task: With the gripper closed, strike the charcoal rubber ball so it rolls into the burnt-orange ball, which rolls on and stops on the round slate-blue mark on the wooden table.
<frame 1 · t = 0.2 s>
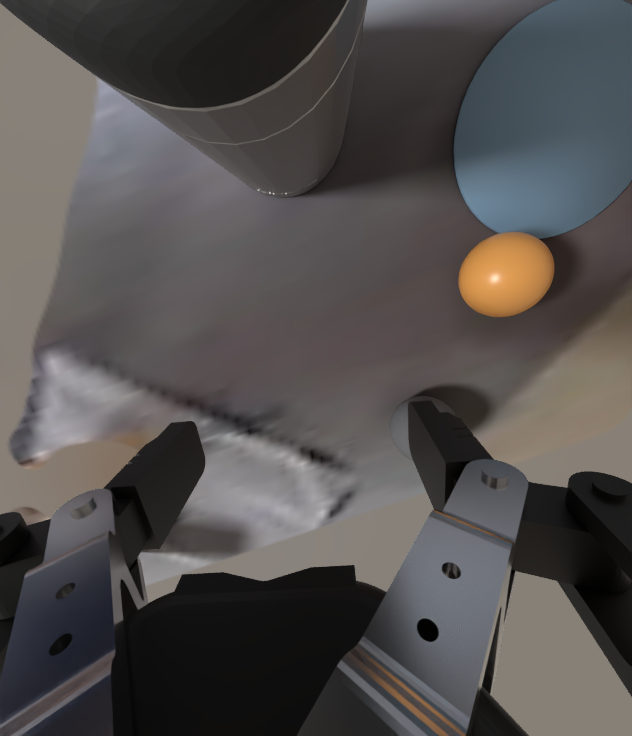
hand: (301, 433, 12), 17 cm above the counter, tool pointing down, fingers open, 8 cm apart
cue ball: (423, 429, 28), on the counter
object ball: (503, 276, 23), on the counter
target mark: (554, 132, 22), on the counter
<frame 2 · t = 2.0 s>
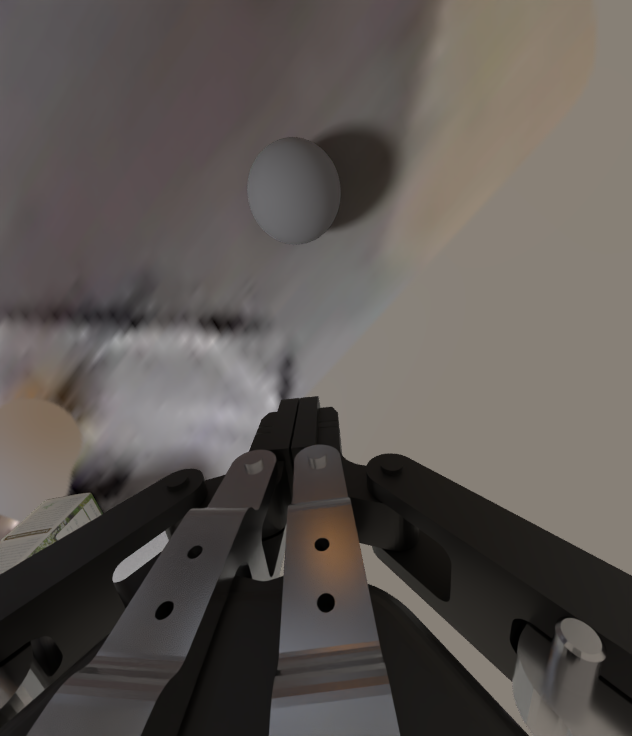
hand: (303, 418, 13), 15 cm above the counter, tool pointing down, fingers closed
cue ball: (294, 194, 20), on the counter
syrup box: (82, 513, 34), on the counter
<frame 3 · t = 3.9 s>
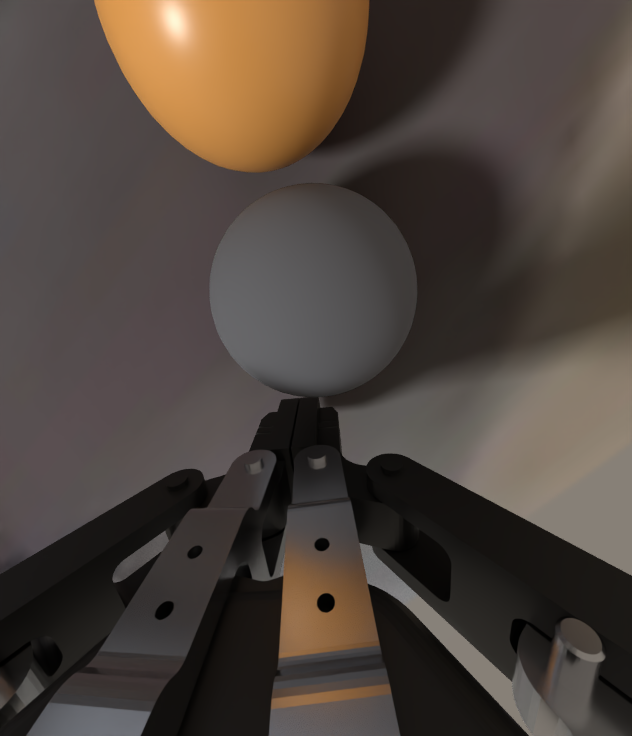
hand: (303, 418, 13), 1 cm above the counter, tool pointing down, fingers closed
cue ball: (313, 298, 9), on the counter
object ball: (240, 22, 7), on the counter
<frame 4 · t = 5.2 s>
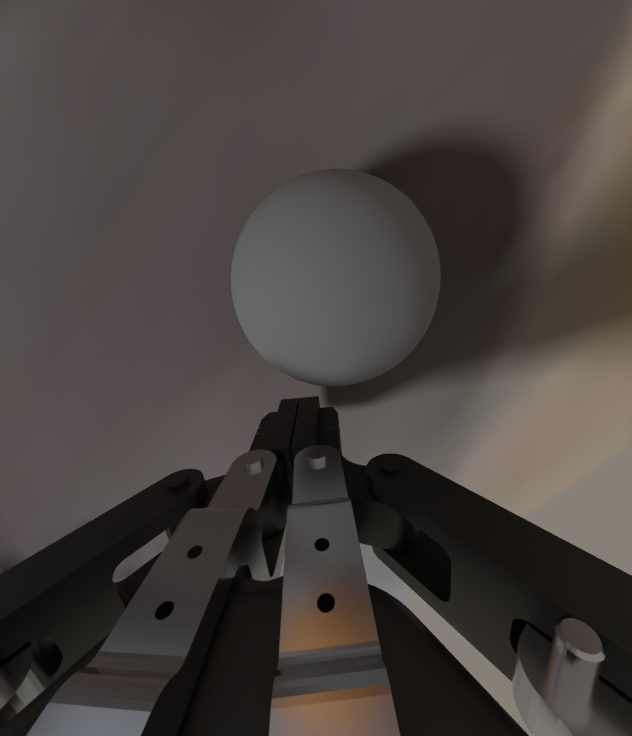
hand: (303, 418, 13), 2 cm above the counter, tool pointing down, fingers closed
cue ball: (333, 287, 9), on the counter
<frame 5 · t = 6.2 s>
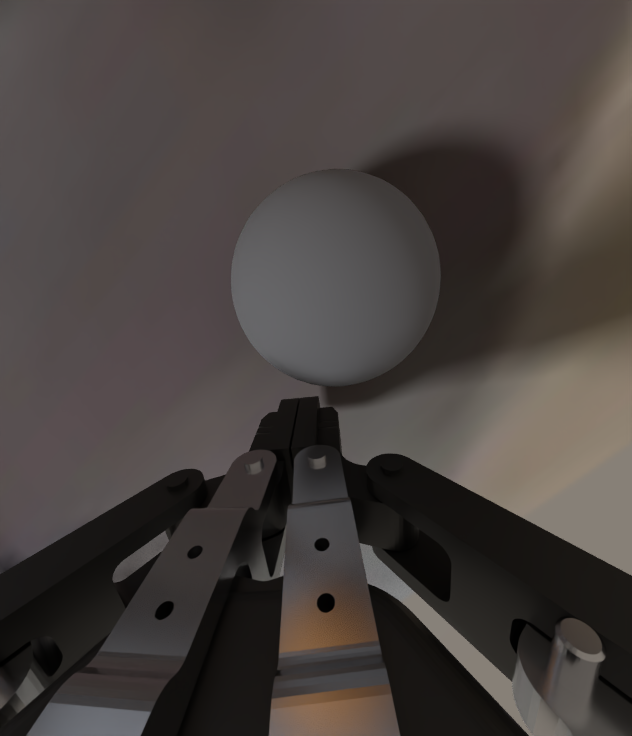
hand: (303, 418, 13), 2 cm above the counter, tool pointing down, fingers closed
cue ball: (333, 287, 9), on the counter
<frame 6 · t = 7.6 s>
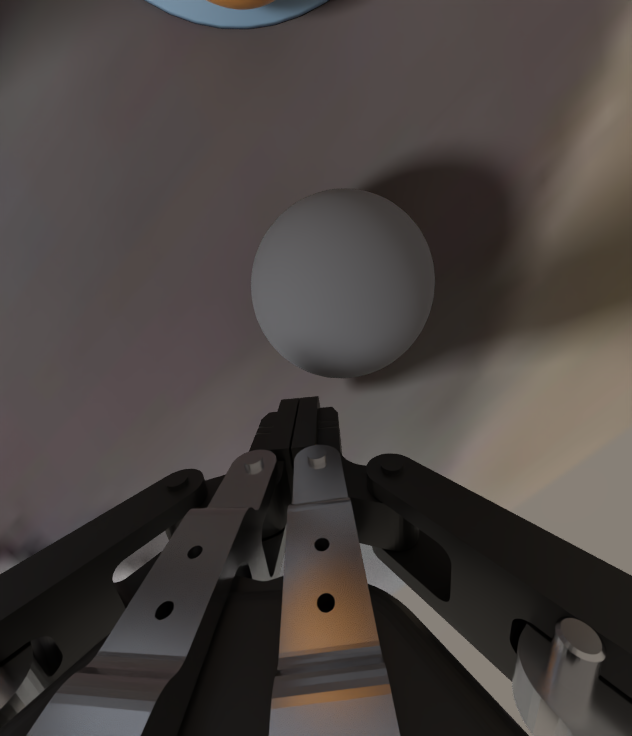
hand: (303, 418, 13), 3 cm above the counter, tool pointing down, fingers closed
cue ball: (340, 290, 10), on the counter
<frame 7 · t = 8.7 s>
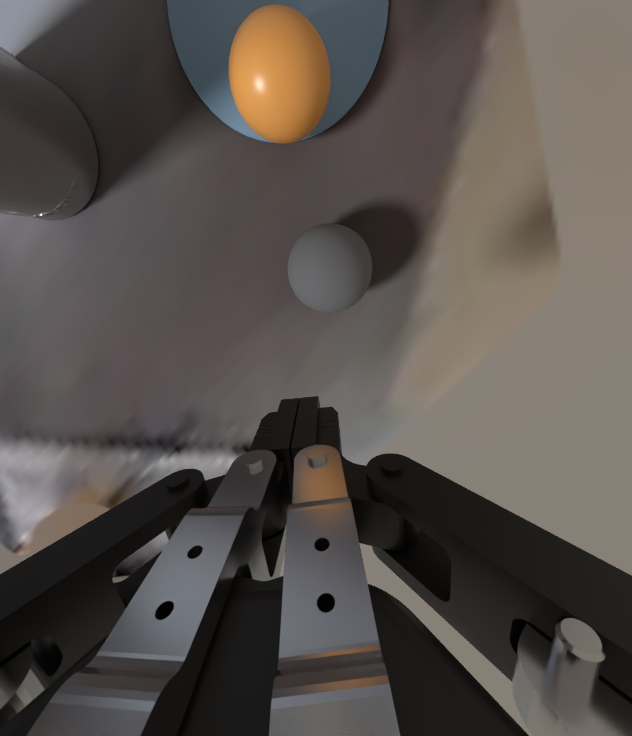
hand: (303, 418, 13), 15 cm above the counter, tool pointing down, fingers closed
cue ball: (329, 269, 22), on the counter
object ball: (280, 81, 18), on the counter
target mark: (277, 13, 20), on the counter
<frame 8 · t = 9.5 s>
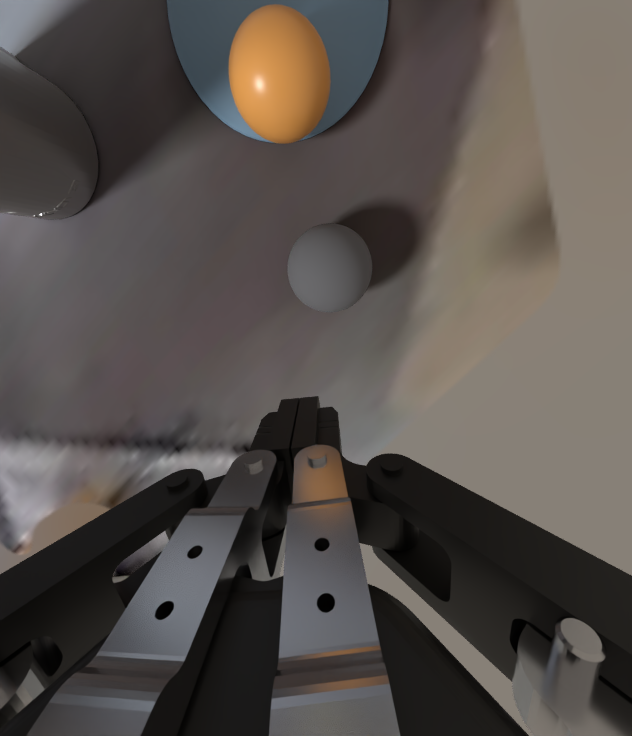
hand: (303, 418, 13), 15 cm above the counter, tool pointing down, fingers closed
cue ball: (329, 269, 22), on the counter
object ball: (280, 81, 18), on the counter
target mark: (277, 13, 20), on the counter
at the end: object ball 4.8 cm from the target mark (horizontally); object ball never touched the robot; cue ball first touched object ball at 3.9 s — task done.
